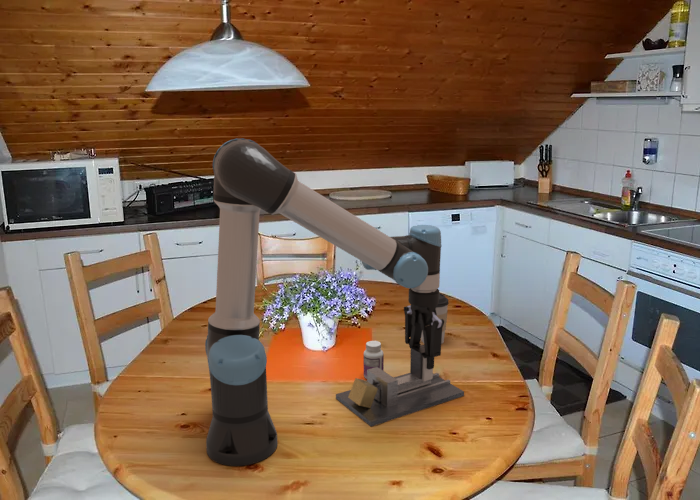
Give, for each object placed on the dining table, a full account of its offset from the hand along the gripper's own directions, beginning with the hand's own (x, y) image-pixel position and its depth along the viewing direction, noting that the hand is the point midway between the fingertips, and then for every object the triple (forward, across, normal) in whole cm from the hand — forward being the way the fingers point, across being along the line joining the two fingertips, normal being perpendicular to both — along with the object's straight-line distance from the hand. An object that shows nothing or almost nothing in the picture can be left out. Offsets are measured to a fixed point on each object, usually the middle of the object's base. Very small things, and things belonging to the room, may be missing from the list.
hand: (421, 375), depth 156 cm
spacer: (+1, 0, +16) cm, 16 cm away
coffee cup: (+4, +24, -23) cm, 34 cm away
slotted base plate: (+4, 0, +7) cm, 8 cm away
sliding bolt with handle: (+3, 0, +6) cm, 7 cm away
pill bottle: (+4, +13, +6) cm, 15 cm away
